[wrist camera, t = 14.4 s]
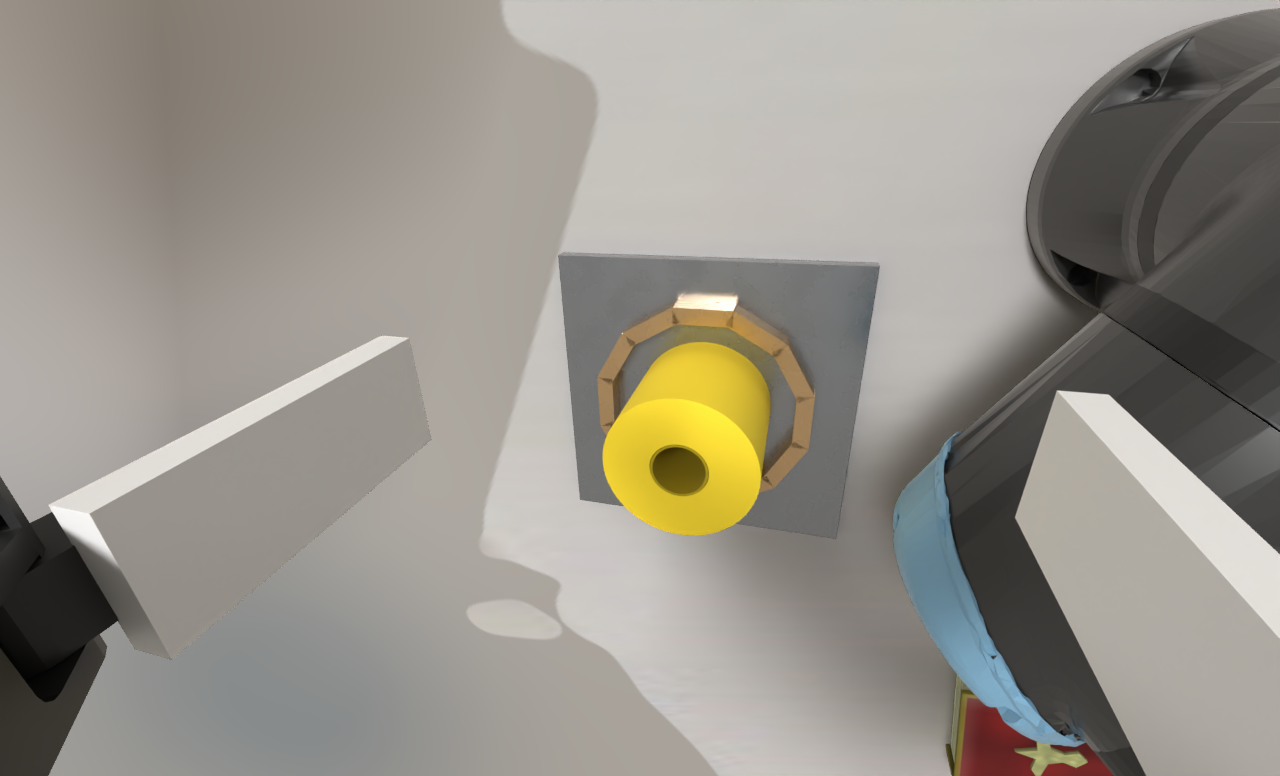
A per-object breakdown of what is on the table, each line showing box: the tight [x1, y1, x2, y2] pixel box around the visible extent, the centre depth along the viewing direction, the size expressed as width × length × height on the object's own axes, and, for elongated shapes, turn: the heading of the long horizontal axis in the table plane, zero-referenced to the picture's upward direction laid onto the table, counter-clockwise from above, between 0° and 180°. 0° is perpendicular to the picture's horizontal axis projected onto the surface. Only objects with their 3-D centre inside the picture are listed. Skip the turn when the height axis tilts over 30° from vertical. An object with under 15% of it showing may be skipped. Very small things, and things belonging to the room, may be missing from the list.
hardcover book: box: [946, 674, 1114, 776], centre depth 46 cm, size 12×21×4 cm, turn 100°
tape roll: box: [603, 342, 771, 535], centre depth 39 cm, size 10×10×9 cm
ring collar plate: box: [558, 253, 879, 539], centre depth 43 cm, size 22×22×2 cm
